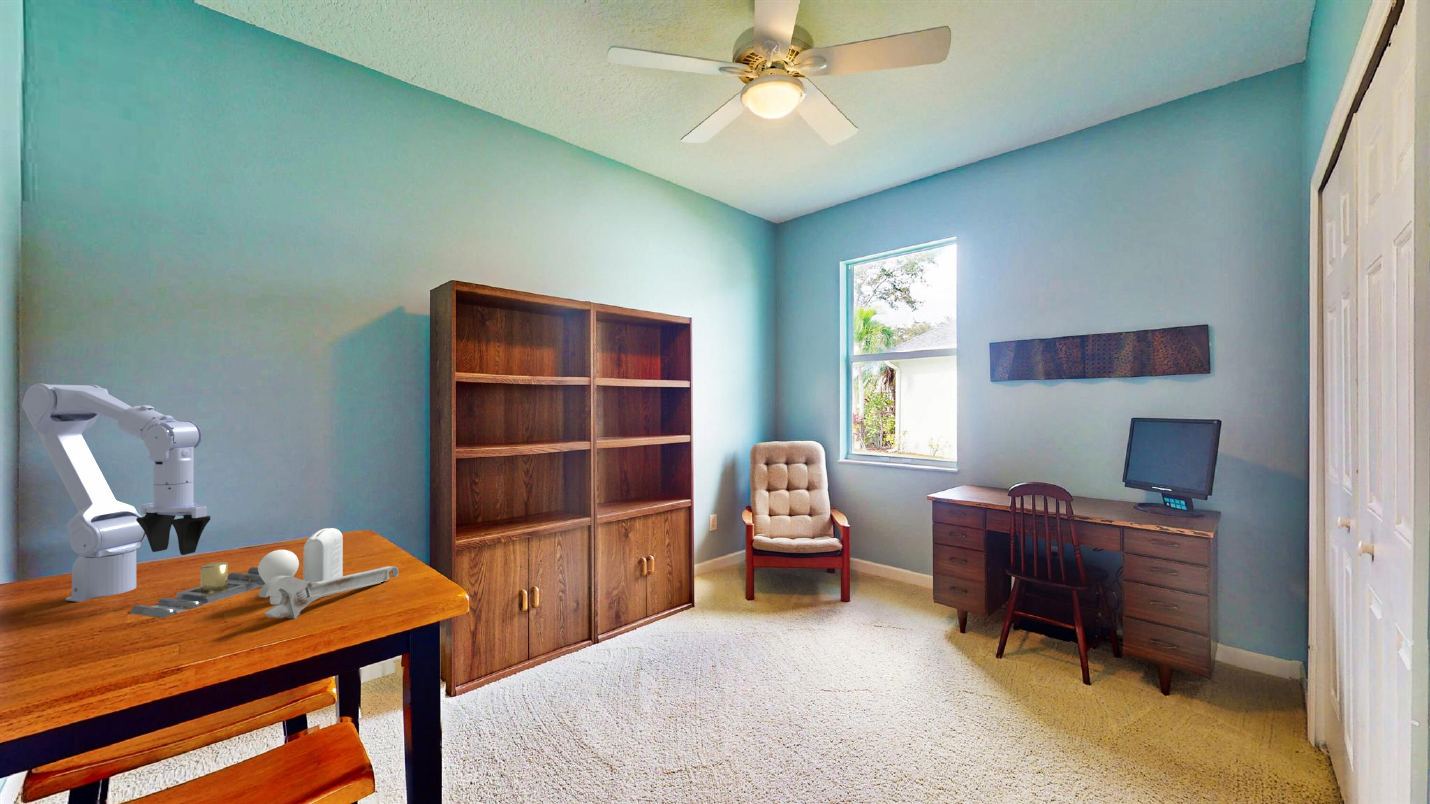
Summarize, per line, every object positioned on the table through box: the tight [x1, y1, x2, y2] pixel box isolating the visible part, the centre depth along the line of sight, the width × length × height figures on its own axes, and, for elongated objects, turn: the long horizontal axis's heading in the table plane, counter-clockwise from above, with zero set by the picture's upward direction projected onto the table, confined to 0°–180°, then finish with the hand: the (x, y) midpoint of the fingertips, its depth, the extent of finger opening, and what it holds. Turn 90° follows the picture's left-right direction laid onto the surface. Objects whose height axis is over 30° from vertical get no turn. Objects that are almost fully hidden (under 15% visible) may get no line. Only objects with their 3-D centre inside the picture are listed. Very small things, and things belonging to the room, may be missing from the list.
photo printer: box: [302, 527, 344, 583], centre depth 118 cm, size 10×4×12 cm, turn 13°
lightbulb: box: [257, 549, 300, 606], centre depth 107 cm, size 6×6×11 cm
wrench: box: [258, 566, 400, 619], centre depth 111 cm, size 8×2×30 cm
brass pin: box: [200, 561, 229, 594], centre depth 111 cm, size 4×4×7 cm
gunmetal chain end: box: [176, 566, 265, 604], centre depth 114 cm, size 8×15×3 cm, turn 166°
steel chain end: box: [130, 591, 247, 619], centre depth 107 cm, size 8×15×2 cm, turn 166°
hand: (173, 552), depth 111 cm, fingers open, 7 cm apart
